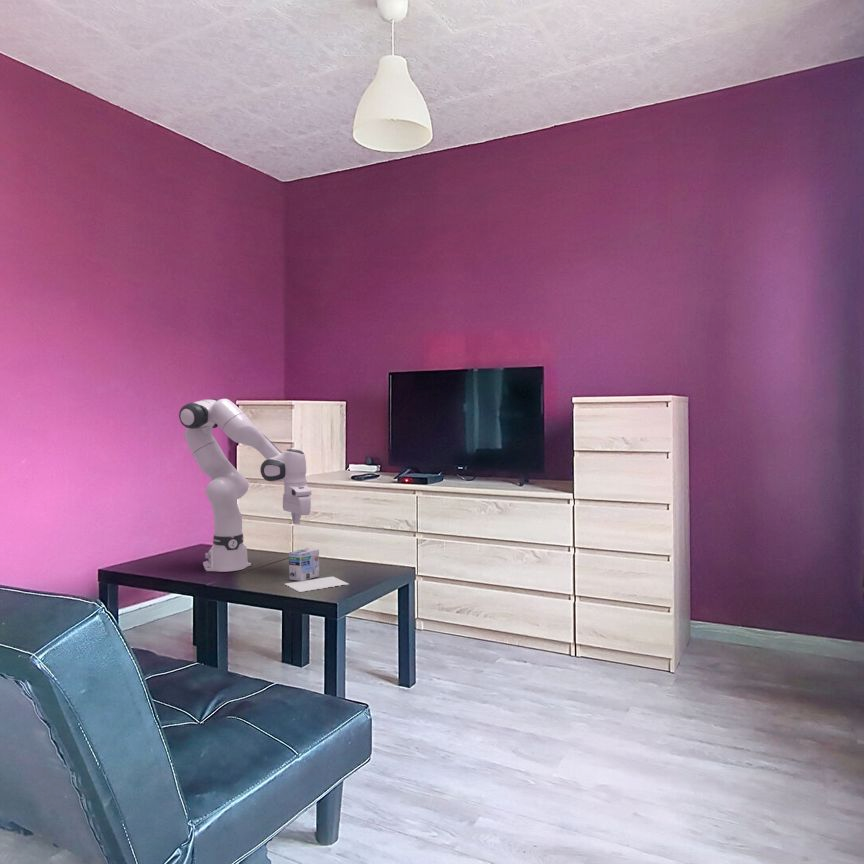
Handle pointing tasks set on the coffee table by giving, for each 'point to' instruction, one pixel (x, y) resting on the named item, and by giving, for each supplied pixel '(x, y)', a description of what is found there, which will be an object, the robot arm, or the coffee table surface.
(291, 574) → the light bulb box
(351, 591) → the coffee table surface
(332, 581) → the mat
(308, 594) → the coffee table surface
